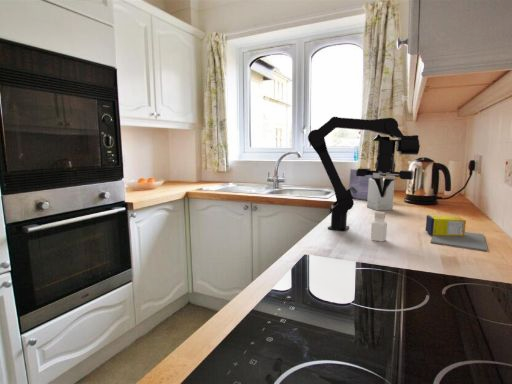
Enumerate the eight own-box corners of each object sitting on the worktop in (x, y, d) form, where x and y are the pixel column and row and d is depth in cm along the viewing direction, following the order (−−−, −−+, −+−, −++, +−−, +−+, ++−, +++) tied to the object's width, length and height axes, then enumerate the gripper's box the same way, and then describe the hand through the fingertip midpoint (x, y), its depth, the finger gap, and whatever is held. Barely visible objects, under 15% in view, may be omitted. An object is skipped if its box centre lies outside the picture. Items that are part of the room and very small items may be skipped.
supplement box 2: (377, 210, 152) (378, 180, 150) (366, 207, 161) (368, 178, 159) (393, 209, 154) (395, 179, 152) (381, 206, 163) (383, 177, 161)
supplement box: (424, 230, 115) (457, 232, 113) (430, 235, 110) (464, 237, 107) (426, 214, 114) (459, 216, 112) (431, 218, 109) (466, 220, 106)
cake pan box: (383, 200, 182) (385, 169, 179) (381, 201, 178) (383, 170, 175) (350, 197, 192) (351, 168, 189) (347, 198, 188) (349, 168, 185)
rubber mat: (487, 251, 94) (487, 249, 94) (430, 243, 102) (430, 241, 102) (483, 235, 111) (483, 234, 111) (434, 229, 119) (434, 228, 119)
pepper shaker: (386, 240, 105) (388, 212, 104) (381, 242, 103) (383, 214, 101) (375, 237, 108) (376, 210, 107) (370, 240, 105) (371, 212, 104)
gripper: (417, 154, 114) (413, 196, 116) (364, 153, 124) (361, 191, 126) (413, 155, 105) (409, 201, 107) (357, 153, 114) (354, 195, 117)
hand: (382, 197), depth 115 cm, fingers closed
